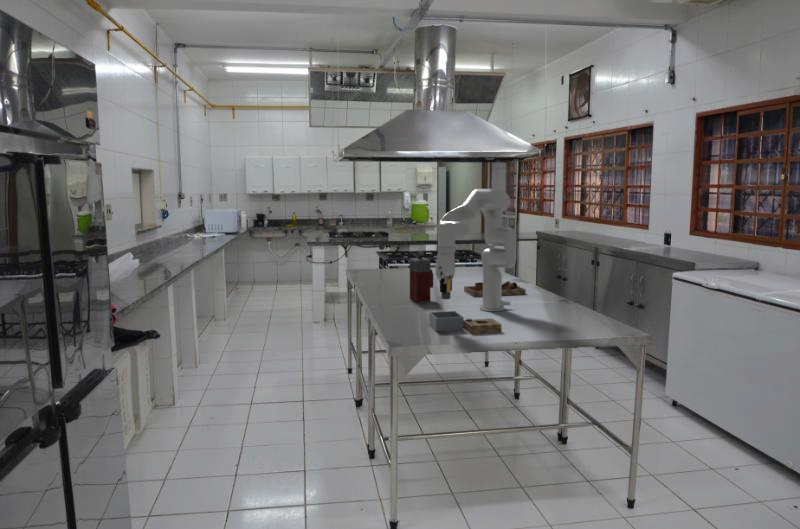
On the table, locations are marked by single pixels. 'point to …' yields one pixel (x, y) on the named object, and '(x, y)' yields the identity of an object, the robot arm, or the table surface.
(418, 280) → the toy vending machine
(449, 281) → the cylinder
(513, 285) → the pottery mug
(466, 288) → the serving frame
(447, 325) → the bin
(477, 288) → the cup and saucer
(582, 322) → the table surface
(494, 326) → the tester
